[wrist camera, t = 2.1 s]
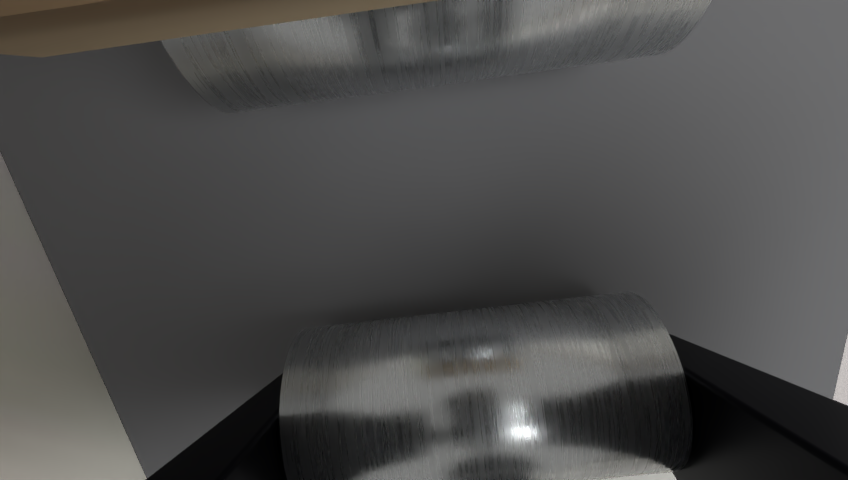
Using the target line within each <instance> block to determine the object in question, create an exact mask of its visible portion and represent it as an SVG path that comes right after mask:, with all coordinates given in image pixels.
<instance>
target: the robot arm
mask: <svg viewBox="0 0 848 480" xmlns="http://www.w3.org/2000/svg"><path fill="white" fill-rule="evenodd" d="M669 335H670V337H671V339H672V342H673V344H674V346H675V349H676V351H677V354H678V357H679V359H680V362H681V365H682V368H683V372H684V375H685V379H686V383H687V387H688V392H689V397H690V403H691V410H692V420H693V438H692V447H691V452H690V455H689V458H688V461H687V462H686V464H685V466H684V467H683V468H682V469H680V470H678V471H675V472H673V474H674V476H675V477H676V479H677V480H848V406H847V405H845V404H842V403H840V402H837V401H835V400H832V399H830V398H827V397H825V396H822V395H820V394H818V393H815V392H813V391H810V390H808V389H805V388H803V387H800V386H798V385H795V384H793V383H790V382H788V381H785V380H783V379H780V378H778V377H775V376H773V375H770V374H768V373H765V372H763V371H760V370H758V369H756V368H753V367H751V366H748V365H746V364H743V363H741V362H738V361H736V360H733V359H731V358H728V357H726V356H723V355H721V354H718V353H716V352H713V351H711V350H708V349H706V348H703V347H701V346H699V345H696V344H694V343H691V342H689V341H686V340H684V339H681V338H679V337H676V336H674V335H671V334H669ZM282 377H283V373H282V374H281V375H280V376H278V377H277V378H276V379H274V380H273V381H272V382H271V383H269V384H268V385H267V386H265V387H264V388H263V389H262V390H260V391H259V392H258V393H256V394H255V395H254V396H253V397H251V398H250V399H249V400H247V401H246V402H245V403H244V404H242V405H241V406H240V407H238V408H237V409H236V410H235V411H233V412H232V413H231V414H229V415H228V416H227V417H226V418H224V419H223V420H222V421H220V422H219V423H218V424H217V425H215V426H214V427H213V428H211V429H210V430H209V431H208V432H206V433H205V434H204V435H202V436H201V437H200V438H199V439H197V440H196V441H195V442H193V443H192V444H191V445H190V446H188V447H187V448H186V449H184V450H183V451H182V452H181V453H179V454H178V455H177V456H175V457H174V458H173V459H172V460H170V461H169V462H168V463H166V464H165V465H164V466H163V467H161V468H160V469H159V470H157V471H156V472H155V473H154V474H152V475H151V476H150V477H148V478H147V479H146V480H287V479H286V476H285V471H284V467H283V461H282V454H281V446H280V431H279V407H280V392H281V383H282Z"/></svg>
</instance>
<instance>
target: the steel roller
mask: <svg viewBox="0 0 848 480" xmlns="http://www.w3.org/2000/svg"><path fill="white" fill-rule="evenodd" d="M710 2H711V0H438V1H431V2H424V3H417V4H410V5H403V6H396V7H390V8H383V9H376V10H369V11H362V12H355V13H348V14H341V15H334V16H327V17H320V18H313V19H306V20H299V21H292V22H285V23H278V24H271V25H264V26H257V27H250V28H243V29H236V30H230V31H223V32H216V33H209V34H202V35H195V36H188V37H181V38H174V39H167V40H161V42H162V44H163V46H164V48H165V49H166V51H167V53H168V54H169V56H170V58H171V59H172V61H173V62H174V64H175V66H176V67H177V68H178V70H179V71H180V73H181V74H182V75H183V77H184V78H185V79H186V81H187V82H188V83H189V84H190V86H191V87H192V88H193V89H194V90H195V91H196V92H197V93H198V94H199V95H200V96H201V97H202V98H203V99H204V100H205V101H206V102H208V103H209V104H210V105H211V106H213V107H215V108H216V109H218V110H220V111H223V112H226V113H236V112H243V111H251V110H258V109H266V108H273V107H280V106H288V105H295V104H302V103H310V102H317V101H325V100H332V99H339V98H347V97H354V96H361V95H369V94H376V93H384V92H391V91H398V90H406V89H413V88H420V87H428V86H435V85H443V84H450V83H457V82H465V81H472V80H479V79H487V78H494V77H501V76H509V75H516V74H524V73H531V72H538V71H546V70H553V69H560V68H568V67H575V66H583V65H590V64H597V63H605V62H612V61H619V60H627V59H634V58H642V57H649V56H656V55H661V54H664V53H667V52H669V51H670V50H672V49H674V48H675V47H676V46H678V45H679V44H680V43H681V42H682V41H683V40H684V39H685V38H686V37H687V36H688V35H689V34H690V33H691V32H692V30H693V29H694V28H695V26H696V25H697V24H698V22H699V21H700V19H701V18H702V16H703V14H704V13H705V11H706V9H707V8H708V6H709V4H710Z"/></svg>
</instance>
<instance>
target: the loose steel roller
mask: <svg viewBox="0 0 848 480" xmlns="http://www.w3.org/2000/svg"><path fill="white" fill-rule="evenodd" d="M279 431H280V446H281V454H282V461H283V467H284V471H285V476H286V479H287V480H593V479H603V478H614V477H624V476H634V475H645V474H655V473H666V472H675V471H678V470H680V469H682V468H683V467H684V466H685V464H686V462H687V461H688V458H689V455H690V452H691V447H692V438H693V420H692V410H691V403H690V397H689V392H688V387H687V383H686V379H685V375H684V372H683V368H682V365H681V362H680V359H679V357H678V354H677V351H676V349H675V346H674V344H673V342H672V339H671V337H670V335H669V333H668V331H667V329H666V327H665V326H664V324H663V322H662V321H661V319H660V317H659V316H658V315H657V313H656V312H655V310H654V309H653V308H652V307H651V306H650V304H649V303H648V302H647V301H645V300H644V299H643V298H642V297H641V296H639V295H637V294H635V293H633V292H621V293H612V294H604V295H595V296H586V297H577V298H568V299H560V300H551V301H542V302H533V303H525V304H516V305H507V306H498V307H489V308H481V309H472V310H463V311H454V312H445V313H437V314H428V315H419V316H410V317H401V318H393V319H384V320H375V321H366V322H358V323H349V324H340V325H331V326H322V327H314V328H305V329H303V330H301V331H300V332H299V333H298V334H297V335H296V337H295V338H294V340H293V342H292V344H291V347H290V349H289V352H288V355H287V358H286V362H285V366H284V371H283V377H282V383H281V392H280V407H279Z"/></svg>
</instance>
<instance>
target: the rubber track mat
mask: <svg viewBox="0 0 848 480" xmlns="http://www.w3.org/2000/svg"><path fill="white" fill-rule="evenodd" d="M0 152H1V154H2V156H3V158H4V160H5V163H6V165H7V167H8V169H9V172H10V174H11V176H12V178H13V181H14V183H15V185H16V187H17V189H18V192H19V194H20V196H21V198H22V201H23V203H24V205H25V207H26V210H27V212H28V214H29V216H30V219H31V221H32V223H33V225H34V227H35V230H36V232H37V234H38V236H39V239H40V241H41V243H42V245H43V248H44V250H45V252H46V254H47V256H48V259H49V261H50V263H51V265H52V268H53V270H54V272H55V274H56V277H57V279H58V281H59V283H60V286H61V288H62V290H63V292H64V294H65V297H66V299H67V301H68V303H69V306H70V308H71V310H72V312H73V315H74V317H75V319H76V321H77V323H78V326H79V328H80V330H81V332H82V335H83V337H84V339H85V341H86V344H87V346H88V348H89V350H90V353H91V355H92V357H93V359H94V361H95V364H96V366H97V368H98V370H99V373H100V375H101V377H102V379H103V382H104V384H105V386H106V388H107V390H108V393H109V395H110V397H111V399H112V402H113V404H114V406H115V408H116V411H117V413H118V415H119V417H120V420H121V422H122V424H123V426H124V428H125V431H126V433H127V435H128V437H129V440H130V442H131V444H132V446H133V449H134V451H135V453H136V455H137V458H138V460H139V462H140V464H141V466H142V469H143V471H144V473H145V475H146V478H148V477H150V476H151V475H152V474H154V473H155V472H156V471H157V470H159V469H160V468H161V467H163V466H164V465H165V464H166V463H168V462H169V461H170V460H172V459H173V458H174V457H175V456H177V455H178V454H179V453H181V452H182V451H183V450H184V449H186V448H187V447H188V446H190V445H191V444H192V443H193V442H195V441H196V440H197V439H199V438H200V437H201V436H202V435H204V434H205V433H206V432H208V431H209V430H210V429H211V428H213V427H214V426H215V425H217V424H218V423H219V422H220V421H222V420H223V419H224V418H226V417H227V416H228V415H229V414H231V413H232V412H233V411H235V410H236V409H237V408H238V407H240V406H241V405H242V404H244V403H245V402H246V401H247V400H249V399H250V398H251V397H253V396H254V395H255V394H256V393H258V392H259V391H260V390H262V389H263V388H264V387H265V386H267V385H268V384H269V383H271V382H272V381H273V380H274V379H276V378H277V377H278V376H280V375H281V374H282V373H283V371H284V366H285V362H286V358H287V355H288V352H289V349H290V347H291V344H292V342H293V340H294V338H295V337H296V335H297V334H298V333H299V332H300V331H301V330H303V329H305V328H314V327H322V326H331V325H340V324H349V323H358V322H366V321H375V320H384V319H393V318H401V317H410V316H419V315H428V314H437V313H445V312H454V311H463V310H472V309H481V308H489V307H498V306H507V305H516V304H525V303H533V302H542V301H551V300H560V299H568V298H577V297H586V296H595V295H604V294H612V293H621V292H633V293H635V294H637V295H639V296H641V297H642V298H643V299H644V300H645V301H647V302H648V303H649V304H650V306H651V307H652V308H653V309H654V310H655V312H656V313H657V315H658V316H659V317H660V319H661V321H662V322H663V324H664V326H665V327H666V329H667V331H668V333H669V334H671V335H674V336H676V337H679V338H681V339H684V340H686V341H689V342H691V343H694V344H696V345H699V346H701V347H703V348H706V349H708V350H711V351H713V352H716V353H718V354H721V355H723V356H726V357H728V358H731V359H733V360H736V361H738V362H741V363H743V364H746V365H748V366H751V367H753V368H756V369H758V370H760V371H763V372H765V373H768V374H770V375H773V376H775V377H778V378H780V379H783V380H785V381H788V382H790V383H793V384H795V385H798V386H800V387H803V388H805V389H808V390H810V391H813V392H815V393H818V394H820V395H822V396H825V397H827V398H830V399H832V400H833V396H834V392H835V387H836V383H837V378H838V374H839V370H840V365H841V361H842V356H843V352H844V347H845V343H846V339H847V334H848V0H711V2H710V4H709V6H708V8H707V9H706V11H705V13H704V14H703V16H702V18H701V19H700V21H699V22H698V24H697V25H696V26H695V28H694V29H693V30H692V32H691V33H690V34H689V35H688V36H687V37H686V38H685V39H684V40H683V41H682V42H681V43H680V44H679V45H678V46H676V47H675V48H674V49H672V50H670V51H669V52H667V53H664V54H661V55H656V56H649V57H642V58H634V59H627V60H619V61H612V62H605V63H597V64H590V65H583V66H575V67H568V68H560V69H553V70H546V71H538V72H531V73H524V74H516V75H509V76H501V77H494V78H487V79H479V80H472V81H465V82H457V83H450V84H443V85H435V86H428V87H420V88H413V89H406V90H398V91H391V92H384V93H376V94H369V95H361V96H354V97H347V98H339V99H332V100H325V101H317V102H310V103H302V104H295V105H288V106H280V107H273V108H266V109H258V110H251V111H243V112H236V113H226V112H223V111H220V110H218V109H216V108H215V107H213V106H211V105H210V104H209V103H208V102H206V101H205V100H204V99H203V98H202V97H201V96H200V95H199V94H198V93H197V92H196V91H195V90H194V89H193V88H192V87H191V86H190V84H189V83H188V82H187V81H186V79H185V78H184V77H183V75H182V74H181V73H180V71H179V70H178V68H177V67H176V66H175V64H174V62H173V61H172V59H171V58H170V56H169V54H168V53H167V51H166V49H165V48H164V46H163V44H162V42H161V40H160V41H153V42H146V43H139V44H132V45H125V46H118V47H111V48H104V49H97V50H90V51H83V52H76V53H70V54H63V55H56V56H49V57H29V56H17V55H5V54H0Z"/></svg>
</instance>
